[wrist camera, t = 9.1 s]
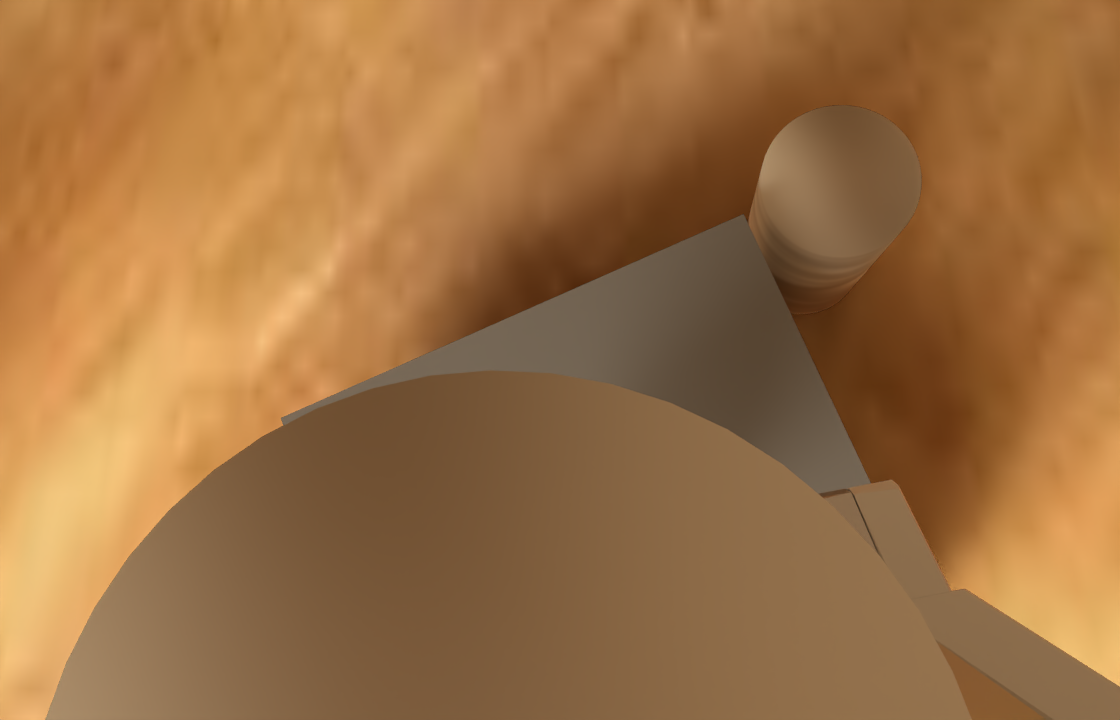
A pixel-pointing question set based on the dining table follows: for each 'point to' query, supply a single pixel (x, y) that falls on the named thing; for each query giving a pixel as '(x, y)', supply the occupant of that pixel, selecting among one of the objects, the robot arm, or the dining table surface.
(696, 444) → the tall pin
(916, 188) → the short pin
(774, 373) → the hole block
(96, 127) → the dining table surface
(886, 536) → the robot arm
